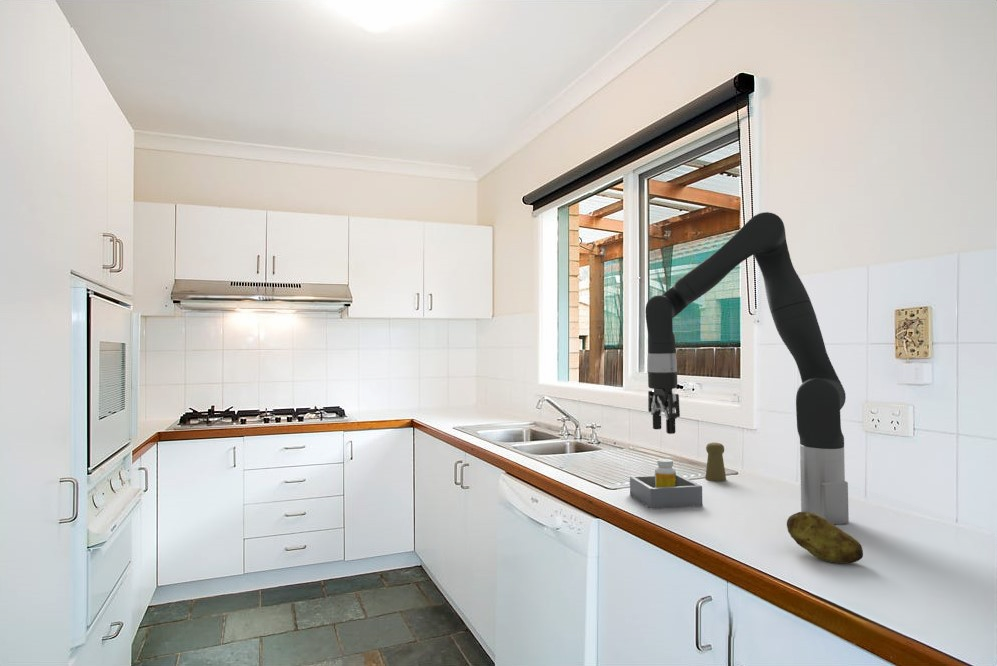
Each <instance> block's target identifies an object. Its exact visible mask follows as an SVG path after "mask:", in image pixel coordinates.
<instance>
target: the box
mask: <svg viewBox="0 0 997 666" xmlns="http://www.w3.org/2000/svg"><path fill="white" fill-rule="evenodd" d="M629 496H632V497H633V498H634V499H636V500H637V501H639V502H640V501H641V502H640V503H641V504H643V503H644V504H643V505H644V506H646V505H647V506H648V507H647V506H646V507H647V508H649V509H650V508H655V509H666V508H667V509H668V508H687V507H701V506H703V485H701V484H698V483H697V482H694V481H693V480H691V479H689V478H686V477H684V476H682V475H680V474H678V473H676V487H657V488H655V474H654V475H653V474H652V475H636V476H635V475H634V476H633V475H632V476H629Z"/></svg>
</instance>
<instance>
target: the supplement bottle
mask: <svg viewBox="0 0 997 666" xmlns="http://www.w3.org/2000/svg"><path fill="white" fill-rule="evenodd" d="M656 464H657V467H655V469H654V475H655V488H657V487H676V474H677V473H676V469H675V468H674V467H673V466H674V460H673V459H669V458H659V459H657V463H656Z"/></svg>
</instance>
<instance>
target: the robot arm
mask: <svg viewBox="0 0 997 666" xmlns="http://www.w3.org/2000/svg"><path fill="white" fill-rule="evenodd" d="M752 256H754V258H755V260H756V263H757V265H758V268H759V269H760V272H761V276H762V279H763V282H764V283H763V285H764V289H765V295H766V299H767V304H768V307H769V311H770V315H771V317H772V320H773V323H774V326H775V328H776V330H777V333H778V335H779V336H780V338H781V340H782V342H783V344H784V346H785V347H786V349H787V350H788V351H789V353H790V354H791V356H792V357H793V360H794V361H795V364H796V366H797V370H798V372H799V376H800V380H801V383H800V385H799V387H798V388H797V391H796V394H795V395H796V396H795V413H796V428H797V430H796V431H797V433H798V437H799V464H800V465H799V468H800V469H799V471H800V473H799V475H800V478H799V479H800V508H801V511H800V512H806V511H807V512H810V513H814V514H817V515H819V516H821V517H823V518H824V519H825V520H827V521H828V522H830V523H832V524H834V525H841V524H842V525H843V524H849V523H850V521H849V518H850V517H849V515H850V514H849V512H850V511H849V483H848V481H846V473H845V472H846V471H845V470H846V469H845V466H846V465H845V437H844V436H845V435H844V434H843V432H842V425H841V424H842V423H841V410H842V408H843V407H844V405H845V403H846V391H845V388H844V387H843V384H842V382H841V380H840V378H839V376H838V374H837V373H836V371H835V368H834V366H833V364H832V362H831V358H829V355H828V352H827V348H826V344H825V342H824V338H823V334H822V331H821V328H820V325H819V322H818V321H819V320H818V318H817V314H816V312H815V309H814V307H813V303H812V301H811V298H810V296H809V293H808V292H807V289H806V287H805V285H804V284H803V282H802V279H801V278H800V276H799V275H798V273H797V271H796V270H795V267H794V265H793V263H792V257H791V255H790V251H789V247H788V243H787V235H786V229H785V224H784V222H783V219H782V218H781V217H780V216H779V215H778V214H776V213H773V212H769V211H767V212H760V213H757V214H755V215H754V216H752V217H751V218H750V219H749V220H748V221H747V222H746V223H745V224H744V225H743V226H742V227H741V228H740V229H739V230H738V231H737V232H736V233H735V234H734V235H733V236H732V237H731V238H730V239H729V240H728V241H727V242H726V243H725V244H723V245H722V246H721V247H720V248H719V249H718V250H716V251H715V252H714V253H712V254H711V255H709V257H707V258H706V259H704V260H703V261H702V262H700V263H698V265H696V266H695V267H694V268H692V269H691V270H689V271H688V272H687V273H685V274H684V275H683V276H682V277H680V278H679V279H678V280H676V282H675V283H674V285H673V286H672V287H669V289H668V290H667V291H665V292H664V293H662V294H660V295H659V294H656V295H653V296H652V297H650V298H649V300H647V302H646V305H645V320H646V321H645V322H646V328H647V335H648V339H647V346H648V347H647V348H648V349H647V350H648V357H647V358H648V359H647V381H648V382H647V387H648V388H649V389H653V390H648V391H647V392H648V401H647V402H648V403H647V407H648V408H647V409H648V413H650V415H651V416H652V429H653V430H661V429H662V413H664V416H665V418H666V419H665V424H666V425H665V430H666V431H665V432H666V433H667V434H668V435H673V434H676V431H677V430H676V420H677V418H680V417H681V412H680V411H681V410H680V396H679V393H673V390H674V389H676V388H678V363H677V362H678V361H677V354H676V353H677V352H676V337H675V333H674V329H673V326H674V325H673V319H674V318H675V317H677V316H678V315H679V314H680V313H681V312H682V311H684V310H685V309H686V308H687V307H688V306H689V305H690V304H691V303H693V302H695V301H697V300H698V299H700V298H701V297H702V296H704V295H705V294H706V293H708V292H709V291H710V290H713V288H715V287H716V286H717V285H718V284H720V282H722V281H723V279H724V278H725V277H726V276H728V274H729V273H731V272H732V271H733V270H734V269H735V268H736V267H737V266H738V265H740V264H741V263H742V262H744V261H746V260H747V259H748V258H750V257H752Z"/></svg>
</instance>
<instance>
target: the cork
mask: <svg viewBox="0 0 997 666" xmlns="http://www.w3.org/2000/svg"><path fill="white" fill-rule="evenodd" d="M705 450H706V451H705V452H707V462H706V467H705V468H706V470H705V477H704V478H705V480H706V481H709V482H717V483H718V482H719V483H720V482H726V481H727V475H726V469H725V462H724V457H723V454H724V452H725V446H724V445H723V444H722V443H719V442H709V443H707V444H706V446H705Z"/></svg>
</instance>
